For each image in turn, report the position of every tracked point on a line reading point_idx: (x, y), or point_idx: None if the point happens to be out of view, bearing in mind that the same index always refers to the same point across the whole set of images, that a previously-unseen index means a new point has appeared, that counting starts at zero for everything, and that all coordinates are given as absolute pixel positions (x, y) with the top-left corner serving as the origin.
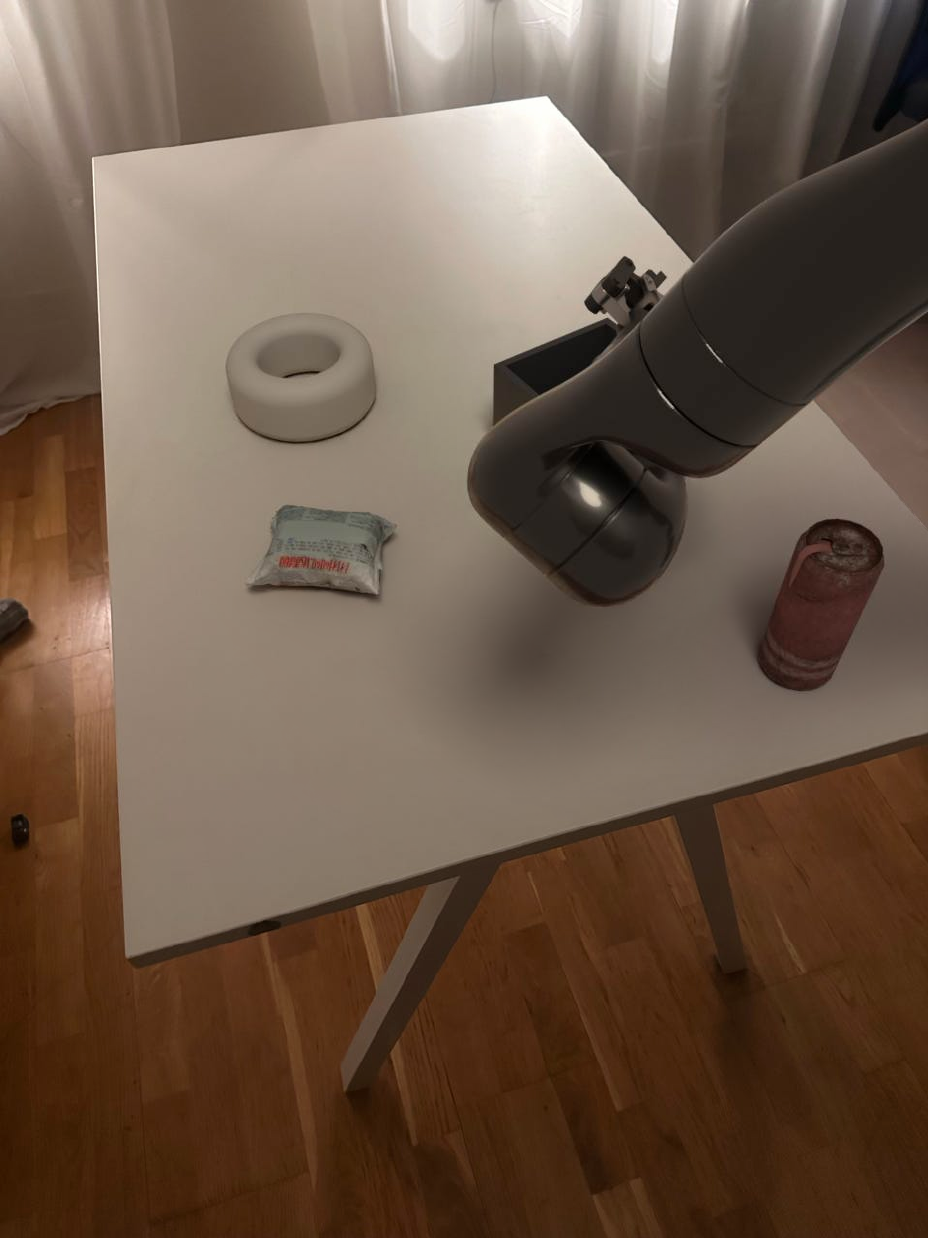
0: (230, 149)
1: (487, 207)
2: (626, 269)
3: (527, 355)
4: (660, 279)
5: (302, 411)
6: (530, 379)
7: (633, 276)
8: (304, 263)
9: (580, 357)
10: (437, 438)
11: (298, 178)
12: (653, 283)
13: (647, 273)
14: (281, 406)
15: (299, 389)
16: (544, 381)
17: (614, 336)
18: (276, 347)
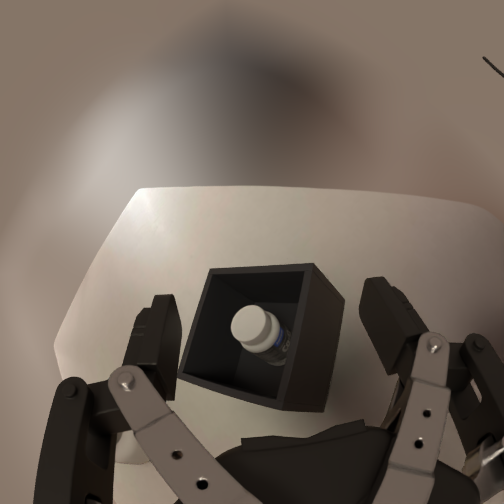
0: (72, 306)
1: (142, 243)
2: (64, 435)
3: (188, 350)
4: (157, 325)
5: (135, 455)
6: (206, 353)
7: (102, 399)
8: (103, 339)
9: (220, 305)
10: (201, 408)
11: (88, 298)
12: (140, 375)
13: (135, 334)
14: (127, 460)
15: (123, 450)
16: (216, 342)
17: (224, 276)
18: None
